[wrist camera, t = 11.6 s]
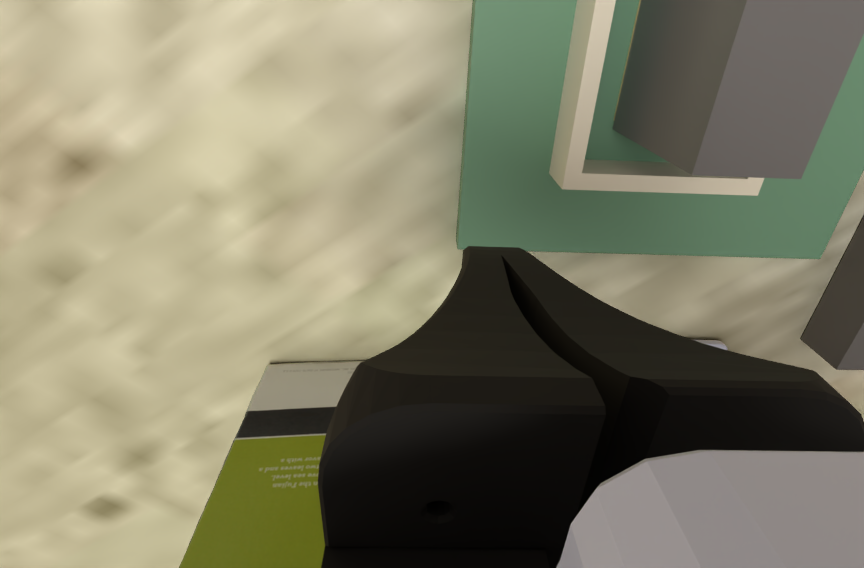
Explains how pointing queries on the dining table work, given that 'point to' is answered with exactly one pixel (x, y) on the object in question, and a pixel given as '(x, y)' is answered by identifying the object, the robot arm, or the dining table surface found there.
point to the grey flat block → (842, 312)
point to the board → (619, 151)
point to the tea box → (273, 474)
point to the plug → (736, 81)
